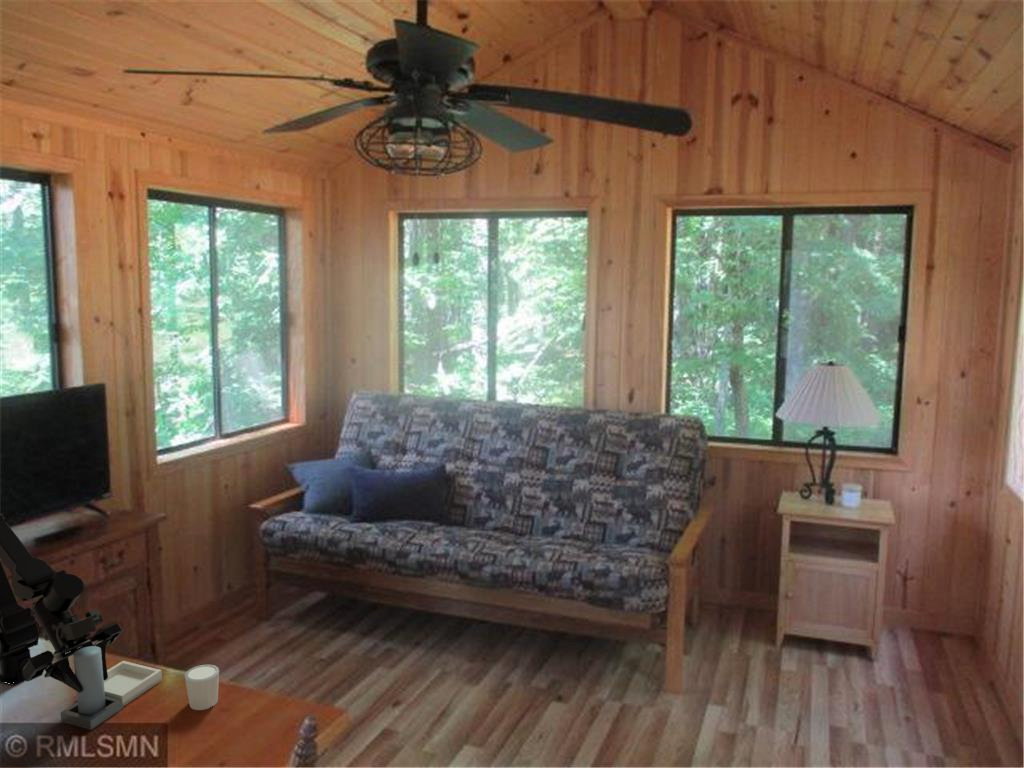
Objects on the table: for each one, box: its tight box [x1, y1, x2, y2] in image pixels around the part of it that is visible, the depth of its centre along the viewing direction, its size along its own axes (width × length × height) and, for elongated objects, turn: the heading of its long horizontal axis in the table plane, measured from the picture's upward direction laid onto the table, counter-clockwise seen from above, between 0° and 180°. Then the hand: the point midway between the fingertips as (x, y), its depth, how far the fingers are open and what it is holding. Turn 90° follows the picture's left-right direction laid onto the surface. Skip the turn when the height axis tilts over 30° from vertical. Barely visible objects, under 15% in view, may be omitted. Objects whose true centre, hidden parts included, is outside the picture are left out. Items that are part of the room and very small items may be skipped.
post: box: [72, 646, 106, 717], centre depth 163 cm, size 5×5×14 cm
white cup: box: [184, 664, 220, 711], centre depth 169 cm, size 7×7×7 cm
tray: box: [104, 660, 163, 707], centre depth 174 cm, size 11×11×2 cm
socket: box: [60, 695, 124, 731], centre depth 165 cm, size 8×8×2 cm
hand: (94, 685), depth 163 cm, fingers closed on post, 5 cm apart
